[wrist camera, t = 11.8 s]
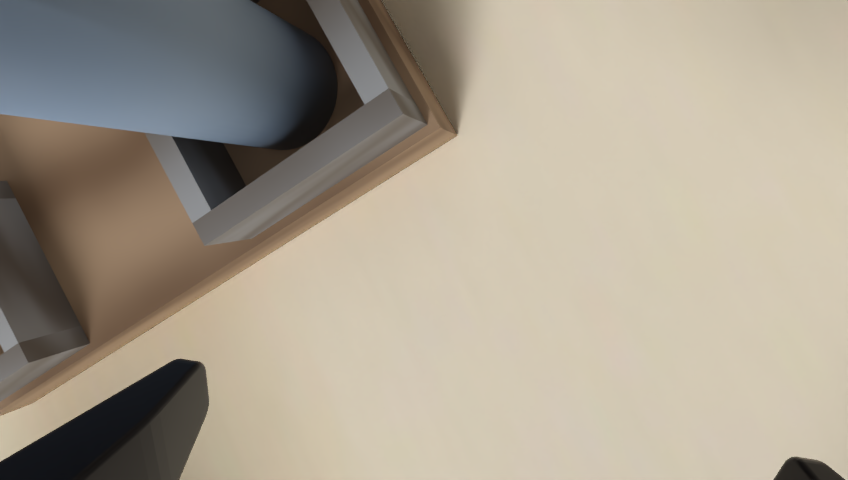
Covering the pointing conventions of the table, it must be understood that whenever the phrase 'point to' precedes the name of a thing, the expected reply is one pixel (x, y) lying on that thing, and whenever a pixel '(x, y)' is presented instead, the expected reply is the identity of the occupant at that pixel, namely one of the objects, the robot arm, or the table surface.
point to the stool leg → (166, 69)
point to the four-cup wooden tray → (185, 202)
